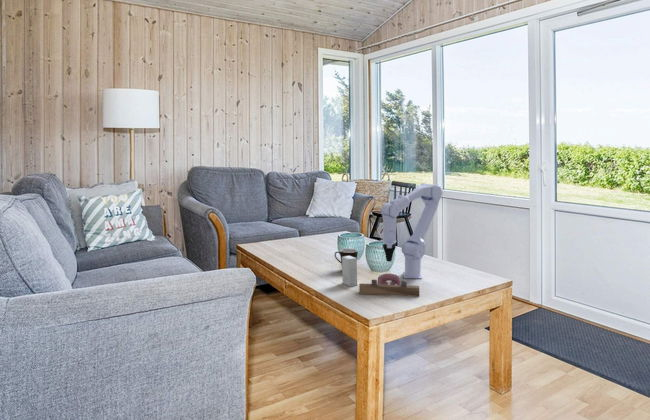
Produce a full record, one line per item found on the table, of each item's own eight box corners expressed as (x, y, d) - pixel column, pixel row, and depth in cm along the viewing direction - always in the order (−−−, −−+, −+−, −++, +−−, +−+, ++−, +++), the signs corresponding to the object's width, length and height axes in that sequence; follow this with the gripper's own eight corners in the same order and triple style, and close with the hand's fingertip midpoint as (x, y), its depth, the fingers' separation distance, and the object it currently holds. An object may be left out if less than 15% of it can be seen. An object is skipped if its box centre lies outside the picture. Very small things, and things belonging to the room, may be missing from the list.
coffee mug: (361, 271, 219) (361, 251, 217) (346, 274, 214) (346, 253, 213) (347, 266, 228) (347, 246, 227) (333, 268, 224) (333, 248, 223)
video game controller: (400, 290, 195) (398, 274, 197) (402, 288, 190) (401, 272, 193) (377, 290, 194) (376, 274, 197) (378, 288, 190) (377, 272, 192)
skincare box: (357, 285, 197) (357, 257, 195) (348, 286, 195) (349, 259, 193) (350, 281, 202) (350, 255, 200) (341, 283, 200) (341, 256, 198)
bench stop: (359, 291, 188) (359, 278, 187) (418, 294, 185) (418, 280, 184) (359, 293, 185) (359, 280, 184) (419, 296, 182) (419, 283, 181)
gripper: (380, 227, 207) (380, 256, 209) (380, 233, 193) (379, 264, 195) (396, 227, 206) (395, 257, 208) (396, 233, 192) (396, 265, 194)
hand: (389, 260), depth 201 cm, fingers closed
